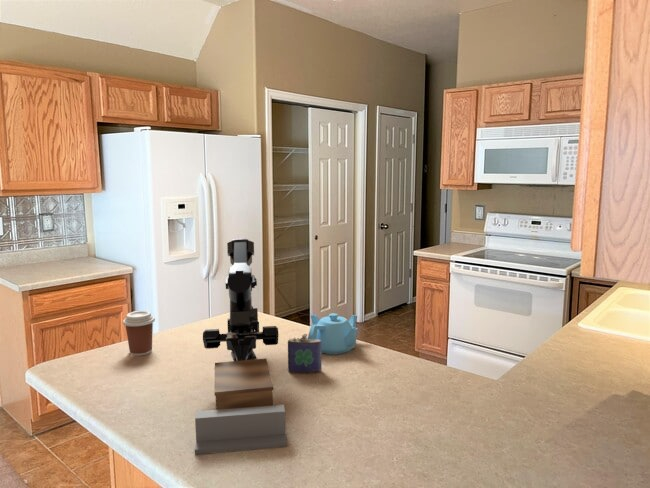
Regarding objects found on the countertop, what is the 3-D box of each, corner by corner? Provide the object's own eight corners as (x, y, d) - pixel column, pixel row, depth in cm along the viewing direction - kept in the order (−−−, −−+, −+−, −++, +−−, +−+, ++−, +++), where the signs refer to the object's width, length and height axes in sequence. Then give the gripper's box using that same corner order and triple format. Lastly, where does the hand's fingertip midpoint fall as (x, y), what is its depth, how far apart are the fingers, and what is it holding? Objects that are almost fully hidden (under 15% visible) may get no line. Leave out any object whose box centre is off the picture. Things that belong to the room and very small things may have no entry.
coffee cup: (120, 351, 154) (117, 313, 152) (149, 344, 160) (147, 307, 158) (132, 359, 147) (129, 320, 145) (161, 352, 153) (159, 314, 151)
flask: (321, 369, 139) (321, 332, 137) (321, 374, 136) (320, 336, 135) (288, 369, 140) (287, 332, 138) (287, 373, 137) (286, 336, 135)
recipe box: (216, 398, 123) (214, 362, 121) (267, 393, 125) (266, 358, 124) (216, 432, 107) (214, 392, 105) (274, 426, 109) (273, 386, 108)
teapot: (311, 338, 164) (310, 306, 163) (357, 339, 164) (357, 307, 162) (307, 356, 149) (306, 321, 148) (357, 356, 149) (358, 321, 147)
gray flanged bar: (197, 438, 104) (196, 411, 103) (284, 431, 107) (284, 404, 106) (194, 454, 99) (193, 426, 98) (286, 446, 101) (286, 418, 100)
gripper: (201, 298, 124) (199, 357, 115) (277, 295, 127) (280, 352, 118) (205, 320, 133) (203, 376, 124) (276, 316, 136) (279, 371, 127)
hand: (241, 368), depth 123 cm, fingers closed
